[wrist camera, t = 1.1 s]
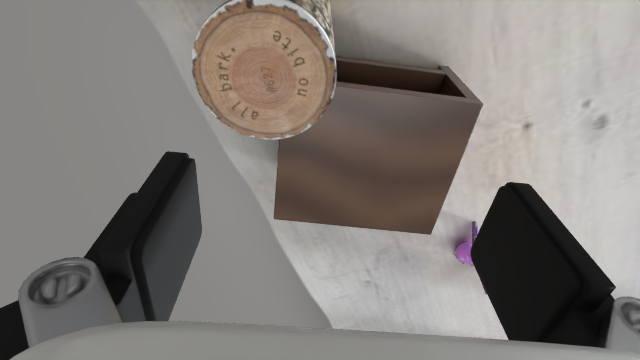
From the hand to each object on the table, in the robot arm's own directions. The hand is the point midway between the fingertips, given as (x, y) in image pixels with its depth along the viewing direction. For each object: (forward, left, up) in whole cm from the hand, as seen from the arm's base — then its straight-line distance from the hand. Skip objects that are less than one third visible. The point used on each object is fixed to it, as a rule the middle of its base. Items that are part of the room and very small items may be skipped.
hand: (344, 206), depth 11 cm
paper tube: (-1, -3, -33) cm, 33 cm away
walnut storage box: (+12, +6, -33) cm, 35 cm away
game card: (+31, +27, -33) cm, 53 cm away
